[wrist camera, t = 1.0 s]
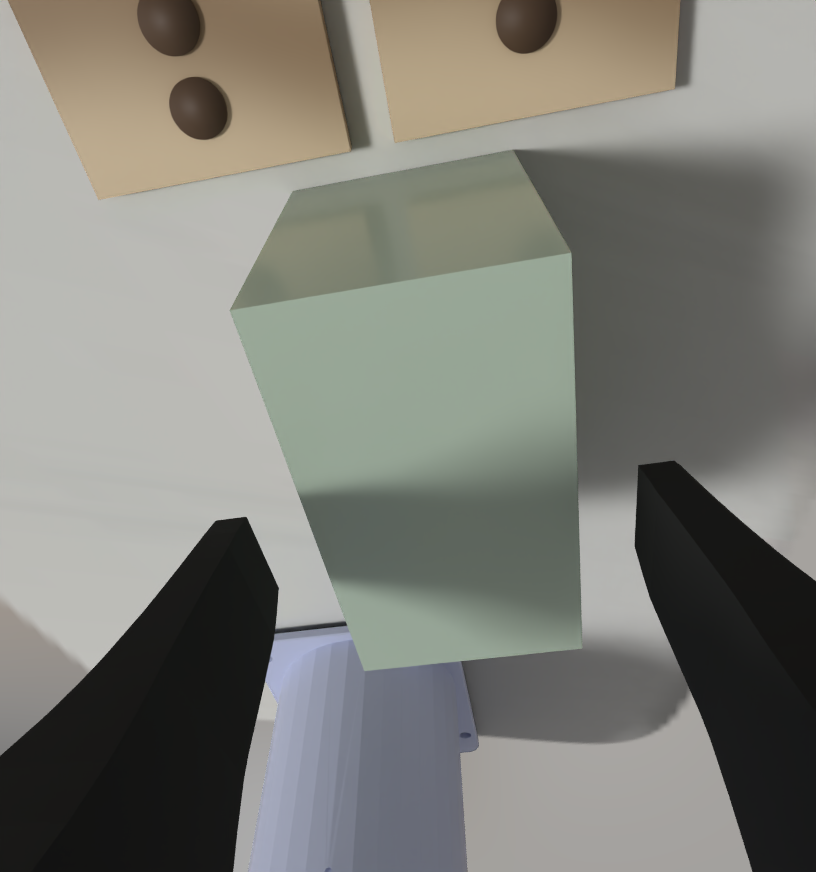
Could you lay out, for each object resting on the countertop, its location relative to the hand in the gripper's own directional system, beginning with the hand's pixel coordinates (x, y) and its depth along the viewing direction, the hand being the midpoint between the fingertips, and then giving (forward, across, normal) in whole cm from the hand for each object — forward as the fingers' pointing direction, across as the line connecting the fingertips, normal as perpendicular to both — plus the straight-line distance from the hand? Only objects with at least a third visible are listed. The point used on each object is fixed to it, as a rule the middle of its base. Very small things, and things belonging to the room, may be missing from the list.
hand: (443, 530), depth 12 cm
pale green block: (+7, 0, 0) cm, 7 cm away
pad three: (+7, +4, -8) cm, 12 cm away
